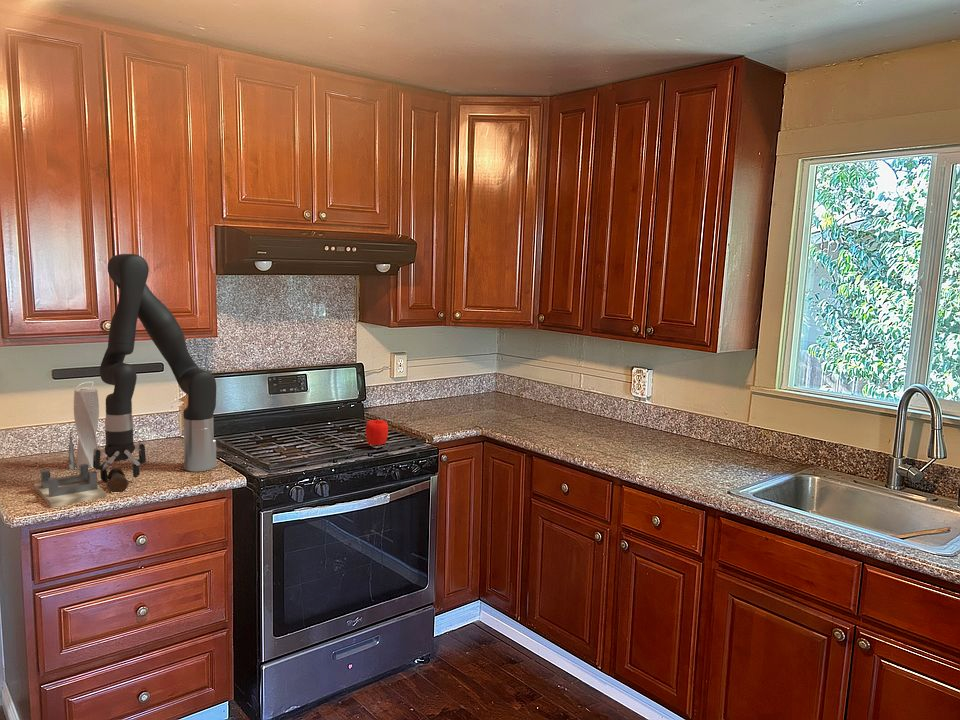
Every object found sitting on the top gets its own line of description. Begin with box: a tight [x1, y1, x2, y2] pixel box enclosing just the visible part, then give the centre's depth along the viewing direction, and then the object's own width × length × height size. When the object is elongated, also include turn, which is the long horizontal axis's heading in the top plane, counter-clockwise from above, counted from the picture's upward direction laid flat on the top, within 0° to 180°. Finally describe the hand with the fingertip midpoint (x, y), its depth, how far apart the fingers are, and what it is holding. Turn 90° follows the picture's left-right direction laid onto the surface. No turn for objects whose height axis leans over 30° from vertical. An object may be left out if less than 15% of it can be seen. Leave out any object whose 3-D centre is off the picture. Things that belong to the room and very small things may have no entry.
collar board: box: [33, 482, 107, 508], centre depth 205 cm, size 14×20×2 cm
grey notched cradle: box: [40, 464, 99, 497], centre depth 205 cm, size 12×11×5 cm
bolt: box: [106, 467, 130, 493], centre depth 214 cm, size 6×5×15 cm
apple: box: [364, 419, 389, 445], centre depth 268 cm, size 9×9×11 cm
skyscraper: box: [67, 381, 100, 471], centre depth 229 cm, size 8×8×28 cm
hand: (120, 479), depth 214 cm, fingers open, 8 cm apart
